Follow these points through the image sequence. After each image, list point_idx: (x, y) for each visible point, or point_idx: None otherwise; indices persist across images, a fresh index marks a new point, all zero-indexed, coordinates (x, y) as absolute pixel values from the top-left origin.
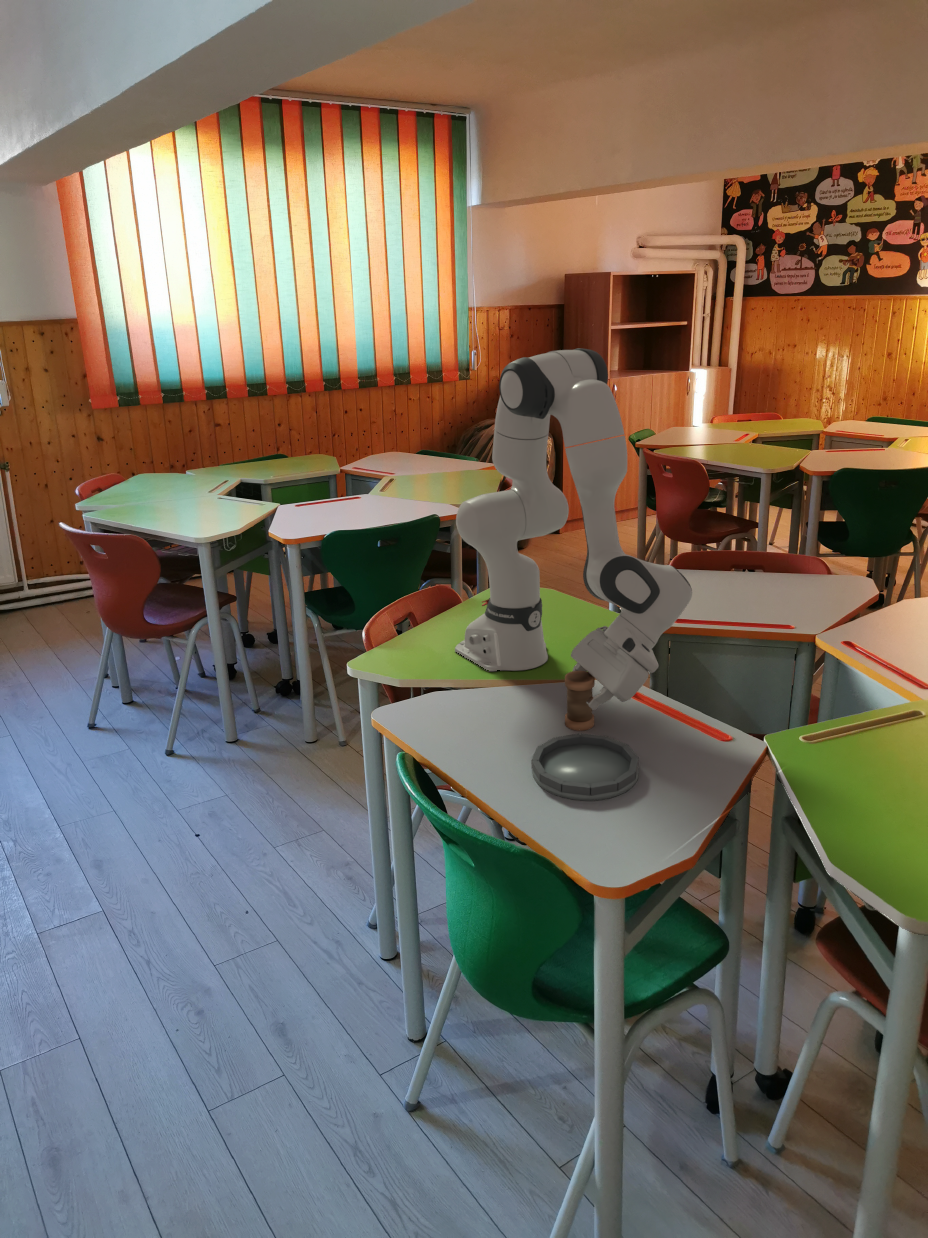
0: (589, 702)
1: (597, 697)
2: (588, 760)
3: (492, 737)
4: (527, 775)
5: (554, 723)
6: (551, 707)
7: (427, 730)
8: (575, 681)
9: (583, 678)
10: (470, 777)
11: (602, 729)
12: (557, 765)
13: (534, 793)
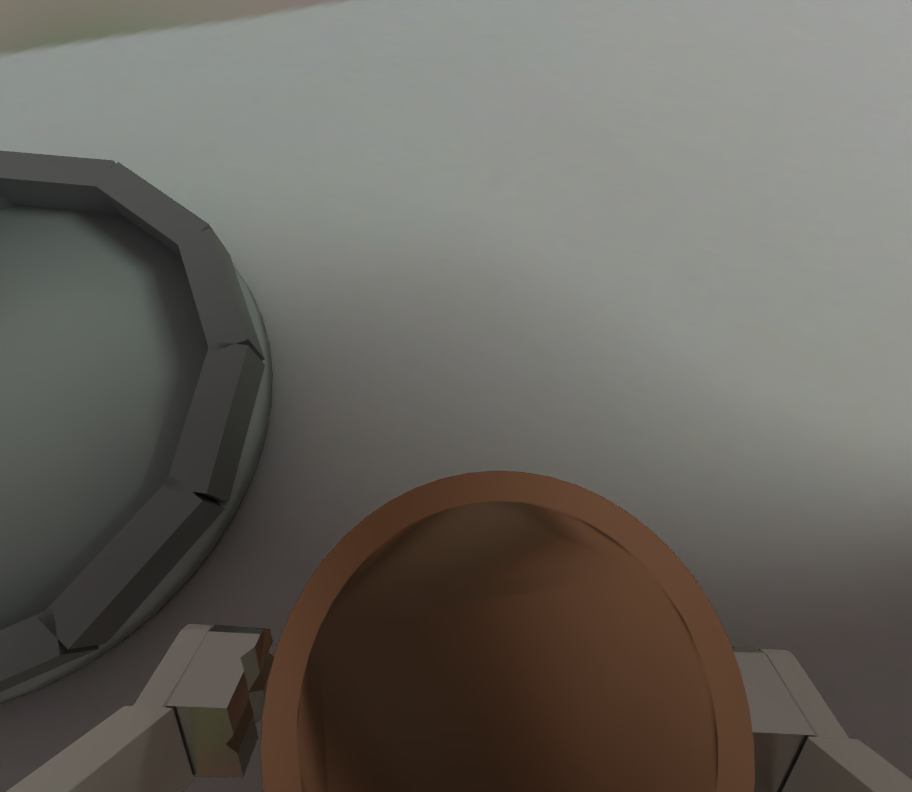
0: (205, 642)
1: (82, 737)
2: (12, 445)
3: (524, 185)
4: None
5: None
6: (761, 573)
7: (672, 16)
8: (384, 563)
9: (427, 745)
10: (269, 41)
11: None
12: (80, 290)
13: None
